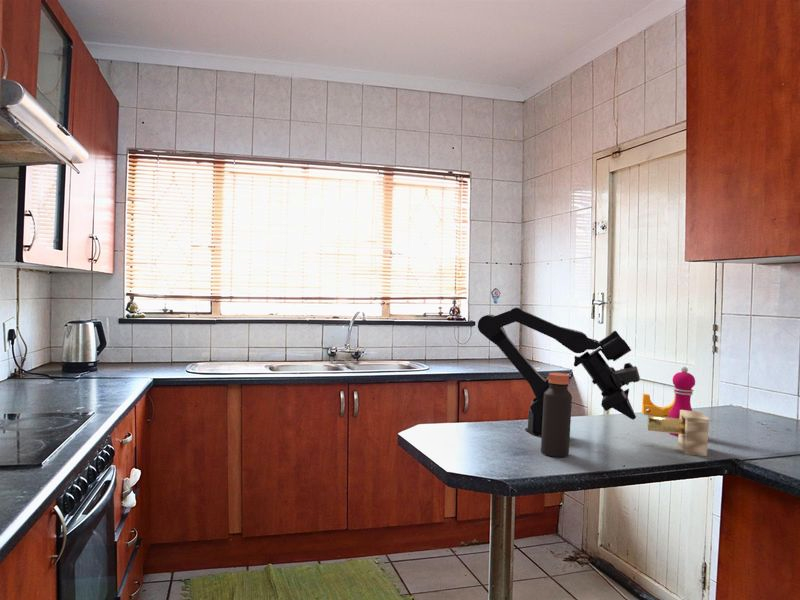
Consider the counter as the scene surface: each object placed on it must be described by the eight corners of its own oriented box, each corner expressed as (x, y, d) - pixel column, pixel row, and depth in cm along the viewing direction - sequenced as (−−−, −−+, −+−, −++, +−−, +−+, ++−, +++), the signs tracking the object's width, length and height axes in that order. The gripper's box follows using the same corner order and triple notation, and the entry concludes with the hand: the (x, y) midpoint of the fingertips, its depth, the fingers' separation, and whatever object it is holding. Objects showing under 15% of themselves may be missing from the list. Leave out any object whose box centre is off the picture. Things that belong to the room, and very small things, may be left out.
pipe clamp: (643, 414, 195) (644, 395, 195) (641, 412, 200) (642, 393, 199) (681, 418, 192) (683, 399, 192) (679, 415, 196) (680, 397, 196)
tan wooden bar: (649, 432, 154) (650, 417, 154) (647, 428, 158) (647, 414, 158) (702, 437, 150) (703, 422, 150) (699, 434, 154) (700, 419, 154)
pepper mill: (697, 435, 170) (701, 367, 169) (689, 439, 164) (694, 369, 164) (671, 429, 174) (675, 364, 174) (663, 433, 169) (667, 366, 169)
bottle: (538, 449, 147) (542, 371, 147) (564, 450, 147) (569, 372, 146) (543, 457, 140) (548, 375, 140) (571, 458, 140) (576, 377, 140)
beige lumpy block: (685, 453, 149) (687, 417, 149) (678, 443, 158) (680, 409, 158) (706, 456, 147) (709, 419, 147) (697, 446, 157) (700, 411, 157)
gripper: (622, 363, 147) (661, 414, 145) (626, 348, 164) (661, 394, 162) (586, 385, 152) (622, 435, 149) (593, 368, 169) (626, 413, 166)
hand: (634, 418), depth 157 cm, fingers closed
